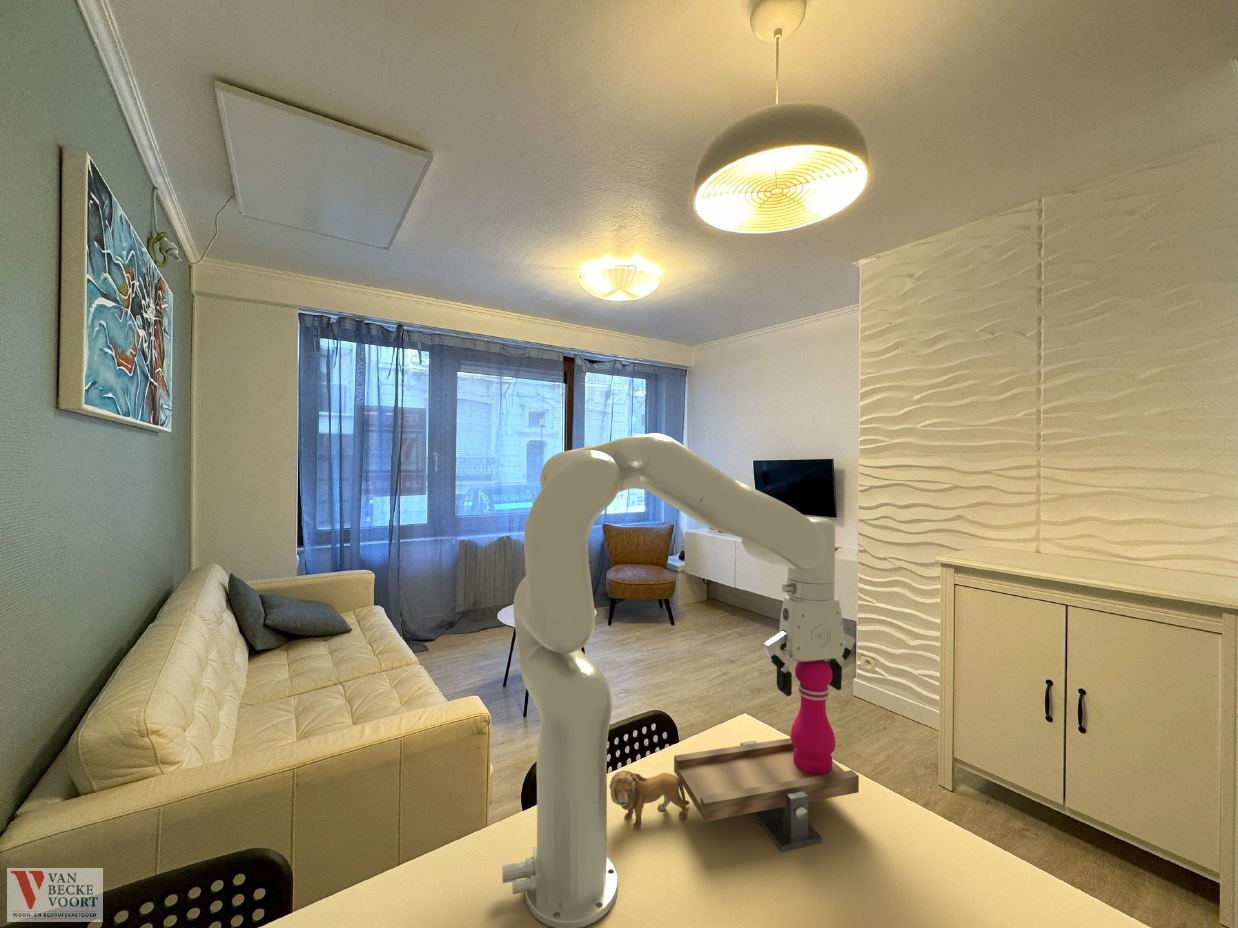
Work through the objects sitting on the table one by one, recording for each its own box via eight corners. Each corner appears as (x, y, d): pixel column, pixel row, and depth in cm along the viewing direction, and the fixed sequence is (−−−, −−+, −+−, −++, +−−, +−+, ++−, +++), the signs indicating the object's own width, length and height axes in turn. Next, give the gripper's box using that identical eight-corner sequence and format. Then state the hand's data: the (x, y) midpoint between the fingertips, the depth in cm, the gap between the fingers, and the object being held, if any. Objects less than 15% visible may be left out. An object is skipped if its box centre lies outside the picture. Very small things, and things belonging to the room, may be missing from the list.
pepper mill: (839, 780, 83) (840, 658, 83) (793, 774, 84) (794, 654, 84) (830, 754, 90) (831, 642, 90) (787, 750, 91) (788, 639, 91)
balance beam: (704, 821, 75) (704, 803, 75) (674, 771, 87) (674, 755, 87) (858, 792, 82) (858, 775, 82) (810, 749, 94) (810, 734, 94)
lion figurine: (618, 844, 77) (618, 785, 77) (603, 822, 82) (603, 766, 82) (697, 814, 84) (697, 760, 84) (680, 795, 89) (680, 744, 89)
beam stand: (781, 851, 76) (781, 803, 76) (728, 781, 92) (728, 742, 92) (821, 842, 78) (822, 795, 78) (763, 775, 94) (763, 737, 94)
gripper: (778, 598, 81) (776, 705, 81) (869, 592, 85) (867, 693, 85) (754, 587, 88) (752, 685, 88) (839, 582, 93) (837, 675, 93)
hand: (809, 689), depth 87 cm, fingers open, 9 cm apart
